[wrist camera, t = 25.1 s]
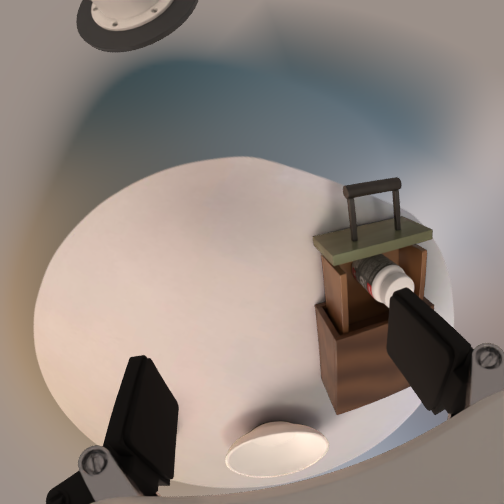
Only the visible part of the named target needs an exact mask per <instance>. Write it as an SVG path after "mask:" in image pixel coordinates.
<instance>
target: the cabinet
mask: <svg viewBox="0 0 504 504" xmlns="http://www.w3.org/2000/svg"><path fill="white" fill-rule="evenodd" d="M423 301H424V302H425V303H426V304H427V305H429V306H430V307H431V308H432V309H433V310H434V304H432V303H431V302H430V301H429V300H428V299H426V298H425V297H423ZM315 311H316V321H317V331H318V341H319V353H320V366H321V379H322V381H323V384H324V386H325V388H326V391H327V393H328V395H329V398H330V400H331V403H332V405H333V407H334V410H335V412H336V414H337V415H339V414H342V413H345V412H348V411H351V410H354V409H357V408H359V407H362V406H365V405H367V404H370V403H373V402H375V401H378V400H380V399H383V398H385V397H387V396H390V395H392V394H394V393H397V392H399V391H401V390H403V389H406V388H408V387H410V384H409V383H408V382H407V380H406V379H405V377H404V376H403V374H402V373H401V372H400V370H399V369H398V367H397V366H396V365H395V363H394V362H393V361H392V359H391V358H390V356H389V355H388V353H387V349H386V344H387V333H388V320H389V319H388V320H385V321H382V322H379V323H377V324H374V325H371V326H368V327H365V328H362V329H359V330H356V331H353V332H350V333H346V334H343V335H339V333H338V332H337V330H336V329H335V327H334V325H333V324H332V322H331V320H330V319H329V317H328V316H327V308H326V302H323V303H320V304H316V305H315Z"/></svg>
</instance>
